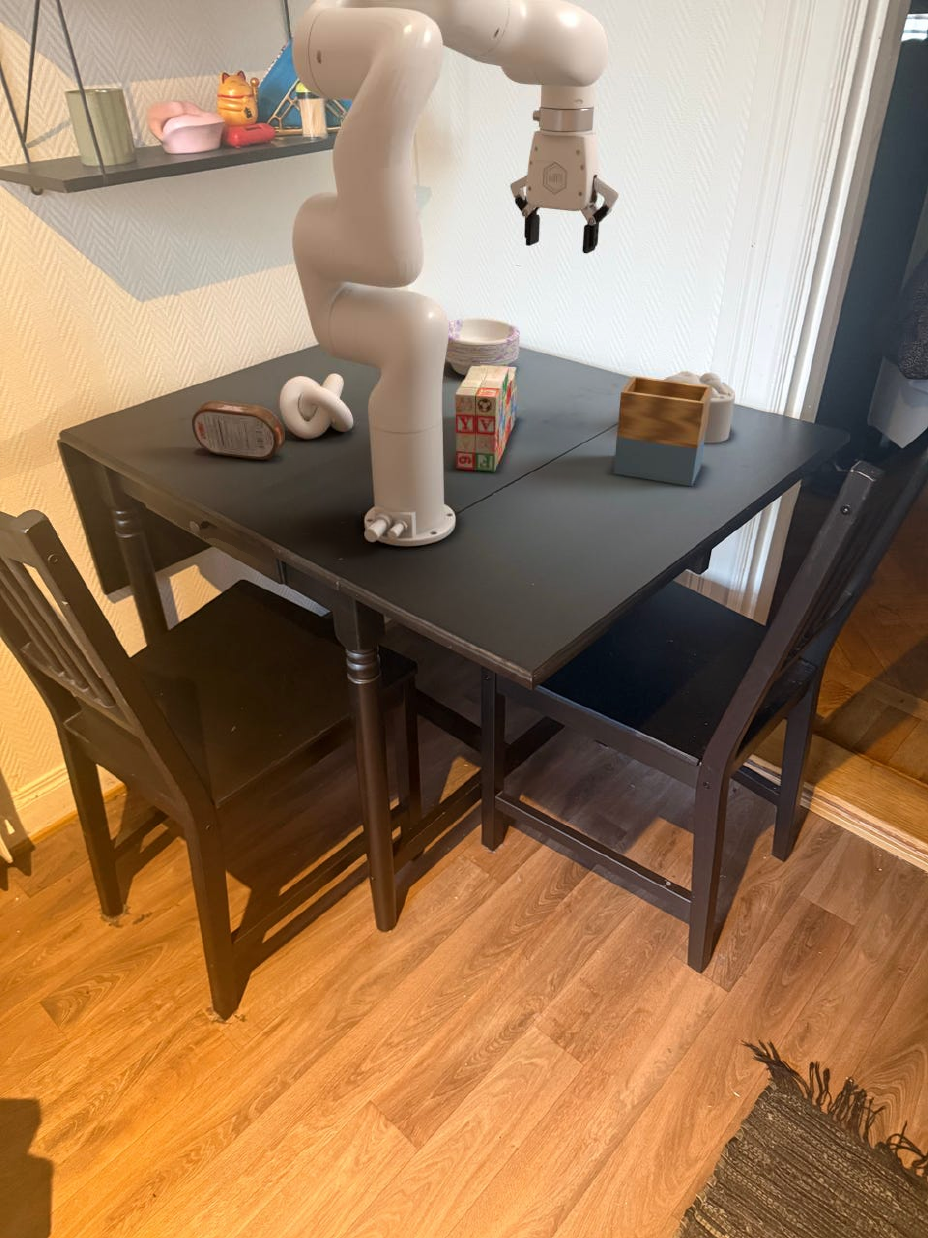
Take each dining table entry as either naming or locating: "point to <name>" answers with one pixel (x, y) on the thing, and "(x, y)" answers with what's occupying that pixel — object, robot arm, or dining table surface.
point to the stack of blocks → (484, 416)
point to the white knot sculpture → (314, 406)
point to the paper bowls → (481, 343)
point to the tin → (238, 430)
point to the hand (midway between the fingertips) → (560, 247)
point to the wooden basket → (664, 411)
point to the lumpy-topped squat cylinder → (713, 404)
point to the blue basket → (657, 461)
